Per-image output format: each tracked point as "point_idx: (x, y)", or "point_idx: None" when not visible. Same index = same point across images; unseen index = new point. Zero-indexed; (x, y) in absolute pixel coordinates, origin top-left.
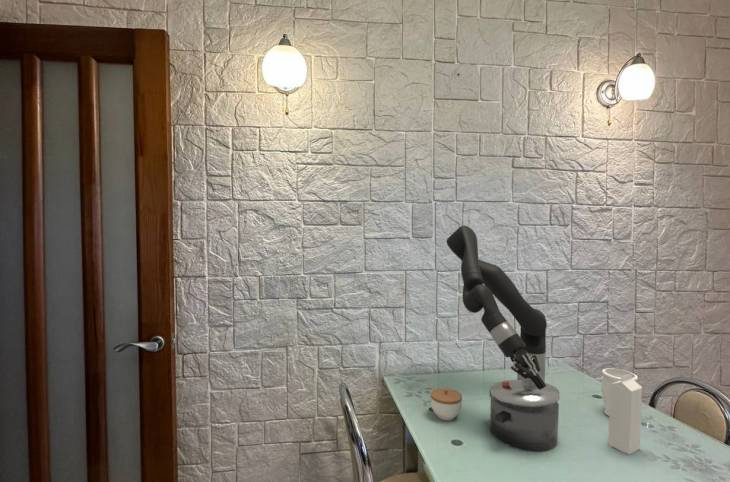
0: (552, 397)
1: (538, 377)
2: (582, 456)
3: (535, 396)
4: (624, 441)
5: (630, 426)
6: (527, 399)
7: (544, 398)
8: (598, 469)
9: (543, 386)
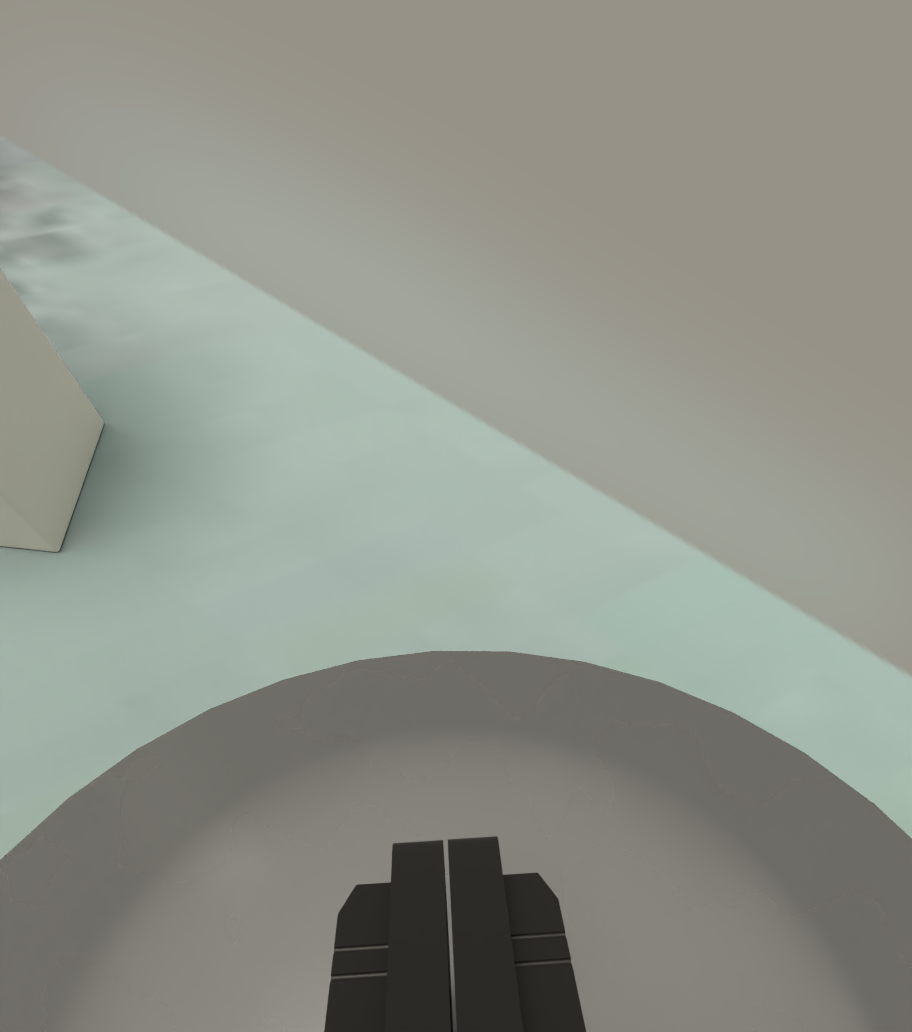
0: (500, 677)
1: (479, 1010)
2: (388, 595)
3: (655, 928)
4: (62, 406)
5: (8, 281)
6: (891, 953)
7: (632, 751)
8: (457, 470)
9: (498, 843)
